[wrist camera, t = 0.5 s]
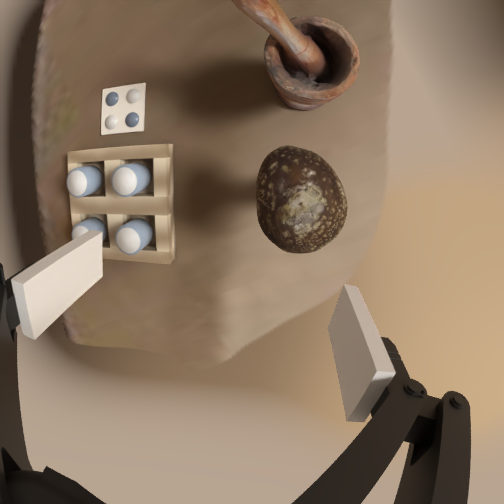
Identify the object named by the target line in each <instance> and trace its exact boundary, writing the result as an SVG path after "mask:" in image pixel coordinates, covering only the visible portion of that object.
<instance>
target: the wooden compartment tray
mask: <svg viewBox="0 0 504 504" xmlns="http://www.w3.org/2000/svg"><path fill="white" fill-rule="evenodd" d="M67 153H68V174H69V173H70V171H71V170H73V169H75V168H79V167H84V166H89V165H94V166H96V167H98V168H99V169H100V171H101V173H102V176H103V182H102V186H101V188H100V189H99V190H98V191H97V192H95V193H92V194H89V195H86V196H84V197H81V198H76V197H74V196H72V195H71V194H70V193H69V195H70V207H71V217H72V226H73V228H74V226H75V225H77V224H79V223H81V222H83V221H85V220H87V219H89V218H91V217H97V218H99V219H100V220H102V222H103V223H104V225H105V227H106V238H105V239H104V241H103V242H102V259H113V260H125V261H137V262H149V263H162V264H170V263H171V262H172V261H173V259H174V258H175V257H176V244H175V216H174V144H157V145H138V146H123V147H111V148H100V149H90V150H81V151H73V152H67ZM131 163H142V164H144V165H145V166H146V167H147V168H148V169H149V171H150V175H151V180H150V184H149V186H148V187H147V188H146V189H145V190H144V191H142V192H140V193H137V194H135V195H132V196H130V197H122V196H119V195H118V194H117V193H116V192H115V191H114V189H113V187H112V183H111V178H112V174H113V172H114V171H115V169H116V168H117V167H119V166H121V165H125V164H131ZM135 218H141V219H144V220H146V221H147V222H148V223H149V224H150V225H151V227H152V230H153V237H152V240H151V242H150V243H149V244H148V245H146V246H145V247H144V248H143V249H142V250H141V251H139V252H138V253H137V254H134V255H127V254H125V253H123V252H122V251H121V250H120V249H119V248H118V246H117V244H116V240H115V236H116V232H117V230H118V229H119V228H120V227H121V226H123V225H124V224H126V223H128V222H130V221H131V220H133V219H135Z"/></svg>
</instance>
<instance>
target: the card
mask: <svg viewBox="0 0 504 504" xmlns="http://www.w3.org/2000/svg"><path fill="white" fill-rule="evenodd" d="M145 90H146V83H140V84H133V85H126V86H120V87H114V88H108V89H103V94H102V116H101V135H107V134H116V133H127V132H139V131H144V112H145Z"/></svg>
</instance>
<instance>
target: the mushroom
mask: <svg viewBox="0 0 504 504" xmlns="http://www.w3.org/2000/svg"><path fill="white" fill-rule="evenodd" d="M256 201H257V216H258V221H259V224H260V227H261V229H262V231H263V232H264V234H265V235H266V236H267V237H268V239H269V240H270V241H272V242H273V243H274V244H275V245H277V246H278V247H279V248H280V249H282V250H284V251H286V252H290V253H311V252H314V251H317V250H319V249H321V248H322V247H324V246H325V245H327V244H328V243H330V242H331V241H332V240H333V239H334V238H336V237H337V235H338V234H339V232H340V231H341V229H342V227H343V226H344V222H345V220H346V216H347V200H346V196H345V192H344V188H343V186H342V184H341V182H340V180H339V178H338V177H337V175H336V173H335V171H334V170H333V169H332V168H331V166H330V165H329V164H328V163H327V162H326V161H325V160H324V159H323V158H322V157H320V156H319V155H317V154H316V153H314V152H312V151H308V150H305V149H301V148H297V147H294V146H283V147H279V148H278V149H276V150H274V151H272V152H271V153H270V154H269V155H268V156H267V157H266V158H265V159H264V161H263V163H262V165H261V167H260V170H259V173H258V177H257V182H256Z"/></svg>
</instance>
